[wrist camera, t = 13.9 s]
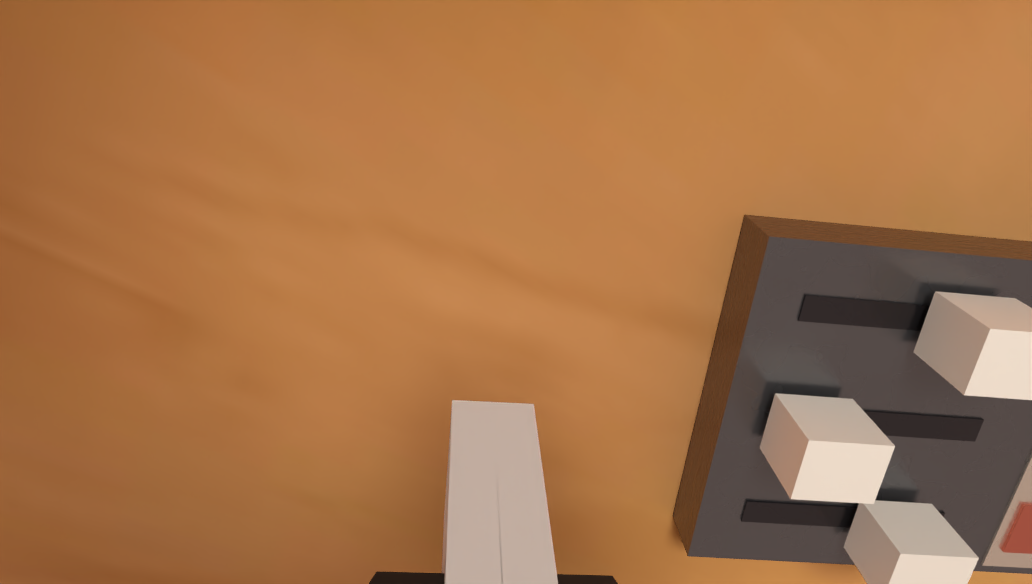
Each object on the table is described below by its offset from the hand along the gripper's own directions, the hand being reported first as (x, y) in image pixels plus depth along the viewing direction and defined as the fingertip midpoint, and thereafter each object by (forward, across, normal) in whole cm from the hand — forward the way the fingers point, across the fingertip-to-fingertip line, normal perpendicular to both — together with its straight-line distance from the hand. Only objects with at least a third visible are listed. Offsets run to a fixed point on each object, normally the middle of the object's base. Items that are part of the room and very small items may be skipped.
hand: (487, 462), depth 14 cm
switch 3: (+11, +18, -2) cm, 21 cm away
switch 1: (+11, +13, -6) cm, 18 cm away
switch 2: (+11, +17, -11) cm, 23 cm away
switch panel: (+14, +19, -7) cm, 24 cm away
